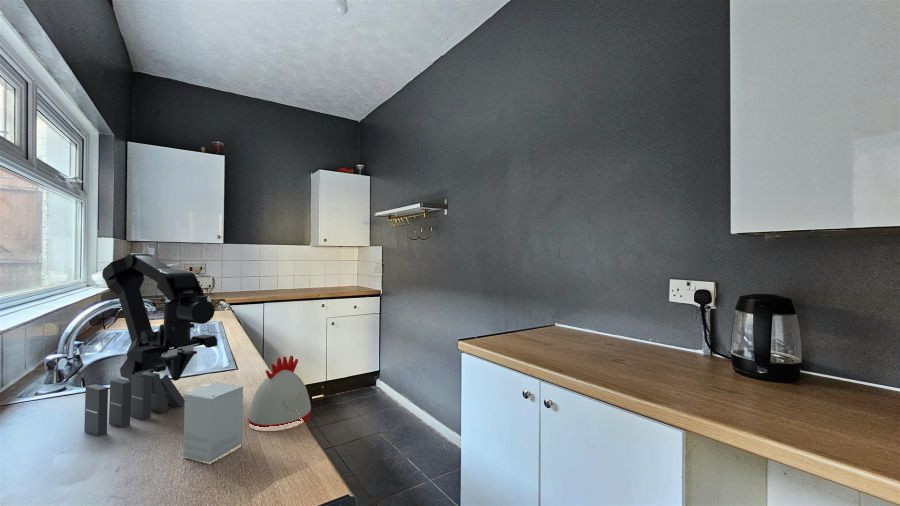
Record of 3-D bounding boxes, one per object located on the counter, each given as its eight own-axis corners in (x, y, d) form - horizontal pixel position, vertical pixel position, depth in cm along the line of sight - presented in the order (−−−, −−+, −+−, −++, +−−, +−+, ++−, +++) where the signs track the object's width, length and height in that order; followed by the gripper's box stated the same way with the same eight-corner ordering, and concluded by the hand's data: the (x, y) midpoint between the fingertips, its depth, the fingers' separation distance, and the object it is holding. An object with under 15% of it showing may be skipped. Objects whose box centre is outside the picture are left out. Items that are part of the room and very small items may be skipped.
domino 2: (117, 420, 86) (118, 378, 86) (130, 425, 84) (131, 381, 84) (108, 424, 85) (109, 380, 85) (121, 428, 83) (122, 383, 83)
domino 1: (93, 428, 82) (95, 384, 82) (107, 432, 80) (108, 387, 80) (83, 432, 81) (85, 386, 81) (97, 436, 79) (98, 389, 79)
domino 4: (156, 405, 94) (146, 371, 92) (169, 409, 92) (159, 373, 90) (149, 410, 92) (138, 374, 90) (162, 413, 91) (151, 377, 88)
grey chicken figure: (322, 415, 92) (324, 355, 92) (270, 438, 80) (272, 369, 80) (288, 402, 99) (290, 347, 99) (236, 421, 87) (238, 358, 88)
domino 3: (138, 414, 90) (139, 373, 90) (150, 417, 88) (152, 376, 88) (129, 416, 88) (131, 375, 89) (142, 420, 87) (144, 378, 87)
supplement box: (243, 447, 76) (244, 386, 76) (209, 466, 69) (211, 398, 69) (216, 440, 78) (218, 381, 78) (181, 458, 71) (183, 393, 71)
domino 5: (173, 398, 98) (154, 371, 93) (186, 402, 96) (167, 373, 91) (167, 404, 96) (147, 376, 92) (180, 407, 94) (160, 379, 90)
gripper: (192, 313, 107) (191, 366, 107) (115, 323, 90) (113, 387, 90) (219, 316, 103) (218, 371, 103) (144, 327, 86) (142, 394, 86)
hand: (175, 380), depth 96 cm, fingers closed
